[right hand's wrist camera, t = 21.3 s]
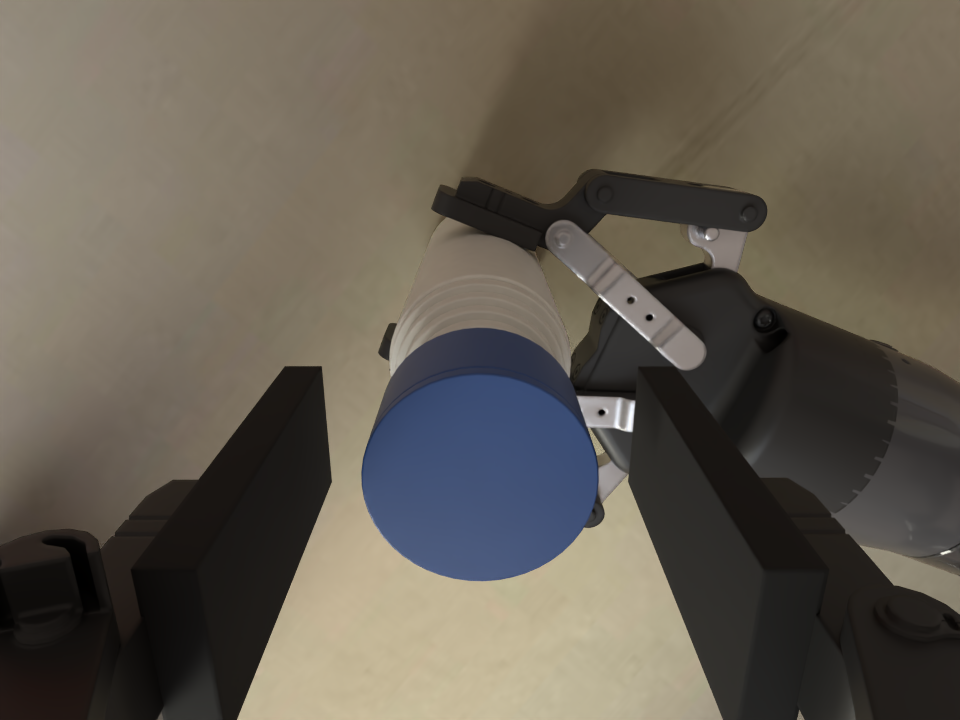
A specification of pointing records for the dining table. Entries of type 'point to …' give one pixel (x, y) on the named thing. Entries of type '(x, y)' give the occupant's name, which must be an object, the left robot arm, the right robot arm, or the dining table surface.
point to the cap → (480, 457)
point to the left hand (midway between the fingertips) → (410, 271)
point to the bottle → (478, 294)
